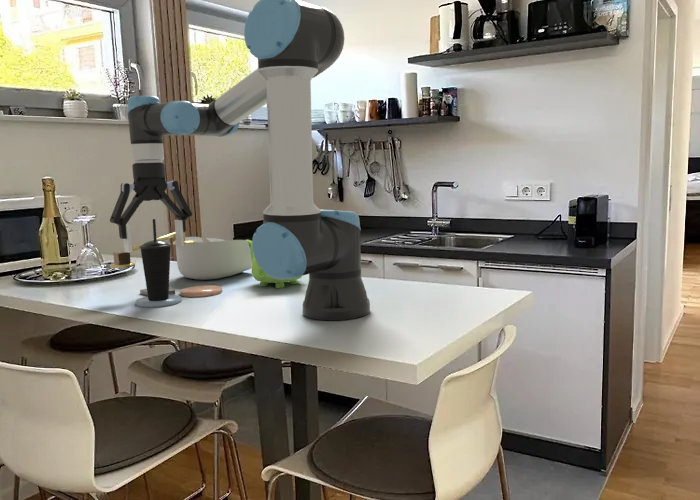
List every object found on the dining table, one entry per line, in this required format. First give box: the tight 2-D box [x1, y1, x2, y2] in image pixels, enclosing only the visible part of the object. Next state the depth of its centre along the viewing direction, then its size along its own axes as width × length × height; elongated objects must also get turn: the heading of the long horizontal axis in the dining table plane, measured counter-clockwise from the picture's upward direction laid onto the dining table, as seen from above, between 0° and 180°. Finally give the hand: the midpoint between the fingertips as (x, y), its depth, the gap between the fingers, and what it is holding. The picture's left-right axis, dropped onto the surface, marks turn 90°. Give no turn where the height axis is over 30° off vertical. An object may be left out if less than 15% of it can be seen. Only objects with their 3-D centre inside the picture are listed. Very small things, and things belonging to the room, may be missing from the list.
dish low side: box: [135, 294, 183, 309], centre depth 156 cm, size 11×11×1 cm
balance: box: [109, 231, 196, 297], centre depth 165 cm, size 8×24×16 cm, turn 133°
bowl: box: [174, 236, 252, 281], centre depth 189 cm, size 20×19×12 cm
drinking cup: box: [139, 218, 173, 301], centre depth 155 cm, size 8×8×20 cm
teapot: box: [245, 239, 303, 289], centre depth 174 cm, size 16×14×13 cm
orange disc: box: [179, 284, 223, 298], centre depth 166 cm, size 11×11×1 cm
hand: (154, 248), depth 154 cm, fingers open, 13 cm apart
